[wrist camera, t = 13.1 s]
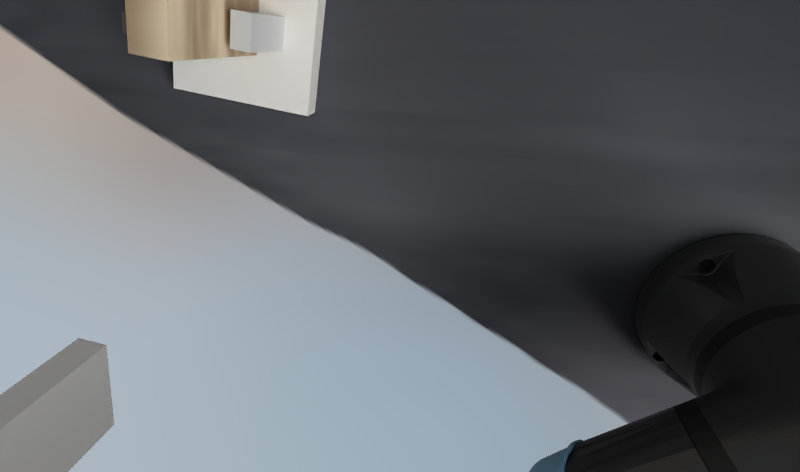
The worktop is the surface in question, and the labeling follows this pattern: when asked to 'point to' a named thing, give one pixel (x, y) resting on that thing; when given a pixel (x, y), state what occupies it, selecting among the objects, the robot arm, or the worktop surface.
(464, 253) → the worktop surface
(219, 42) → the oak door
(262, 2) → the white holder stand
